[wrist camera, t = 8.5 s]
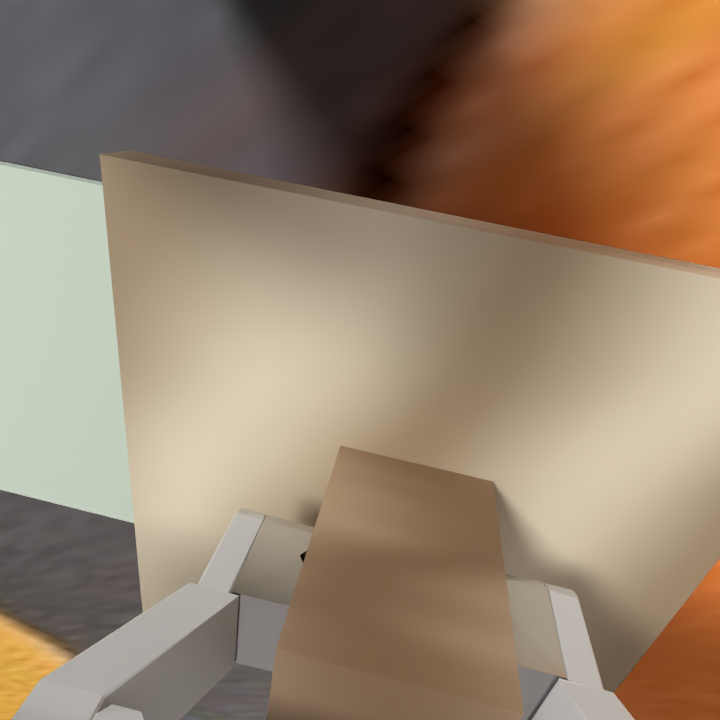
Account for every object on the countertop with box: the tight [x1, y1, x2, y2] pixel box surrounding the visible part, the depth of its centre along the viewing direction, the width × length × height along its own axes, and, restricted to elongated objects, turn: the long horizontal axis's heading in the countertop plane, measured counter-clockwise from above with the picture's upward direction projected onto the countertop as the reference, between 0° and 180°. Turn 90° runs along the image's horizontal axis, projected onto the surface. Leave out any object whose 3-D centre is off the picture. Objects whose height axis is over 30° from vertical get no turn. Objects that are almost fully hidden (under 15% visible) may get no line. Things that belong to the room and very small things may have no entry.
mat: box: [0, 161, 134, 523], centre depth 18 cm, size 12×14×1 cm
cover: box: [100, 151, 720, 720], centre depth 8 cm, size 12×12×5 cm
